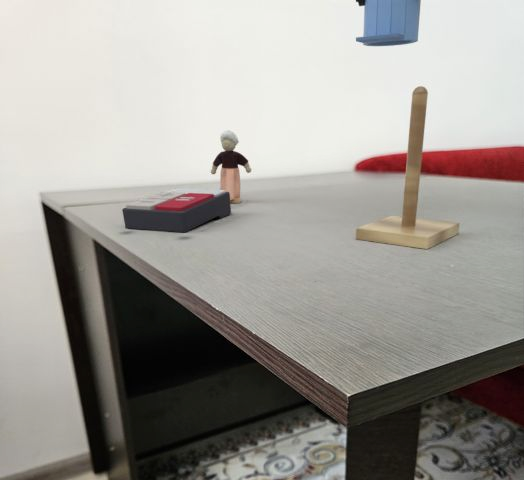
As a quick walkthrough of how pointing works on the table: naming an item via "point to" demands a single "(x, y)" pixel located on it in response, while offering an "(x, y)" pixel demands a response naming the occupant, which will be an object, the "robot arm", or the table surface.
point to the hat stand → (411, 196)
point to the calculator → (177, 209)
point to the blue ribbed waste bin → (390, 22)
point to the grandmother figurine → (230, 166)
